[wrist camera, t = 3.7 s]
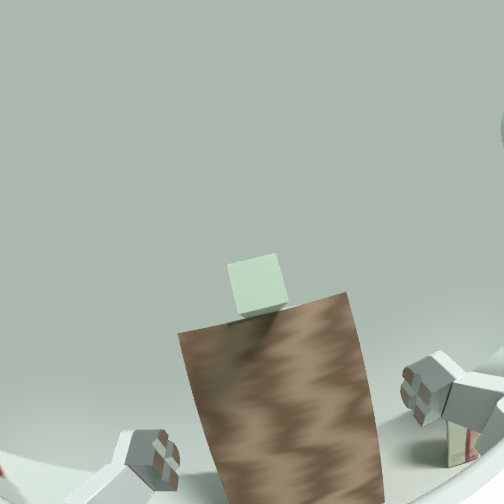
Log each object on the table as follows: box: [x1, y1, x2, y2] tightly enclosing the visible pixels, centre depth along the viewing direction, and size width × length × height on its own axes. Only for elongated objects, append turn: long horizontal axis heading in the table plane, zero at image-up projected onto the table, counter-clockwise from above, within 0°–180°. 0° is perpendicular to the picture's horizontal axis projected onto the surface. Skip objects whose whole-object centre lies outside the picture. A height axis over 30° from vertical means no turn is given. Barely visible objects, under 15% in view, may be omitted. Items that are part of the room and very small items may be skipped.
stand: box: [178, 292, 385, 504], centre depth 26 cm, size 16×10×26 cm, turn 88°
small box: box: [446, 420, 479, 467], centre depth 20 cm, size 5×4×8 cm
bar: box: [227, 253, 289, 318], centre depth 27 cm, size 3×22×3 cm, turn 178°
